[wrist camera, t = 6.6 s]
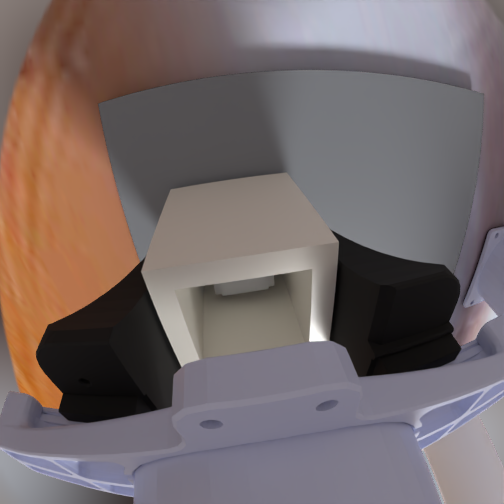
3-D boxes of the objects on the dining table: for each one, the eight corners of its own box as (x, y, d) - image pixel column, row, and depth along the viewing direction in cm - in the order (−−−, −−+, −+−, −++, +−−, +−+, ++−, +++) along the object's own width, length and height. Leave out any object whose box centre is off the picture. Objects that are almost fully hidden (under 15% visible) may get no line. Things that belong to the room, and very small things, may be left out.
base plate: (472, 91, 12) (527, 106, 8) (442, 279, 19) (474, 317, 15) (106, 102, 11) (59, 112, 7) (173, 330, 18) (168, 388, 14)
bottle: (445, 386, 31) (511, 543, 6) (398, 409, 32) (458, 579, 7) (458, 356, 27) (541, 540, 2) (405, 384, 28) (480, 587, 2)
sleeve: (286, 172, 12) (338, 242, 7) (290, 267, 15) (326, 361, 10) (170, 189, 12) (141, 271, 7) (193, 282, 15) (188, 382, 10)
